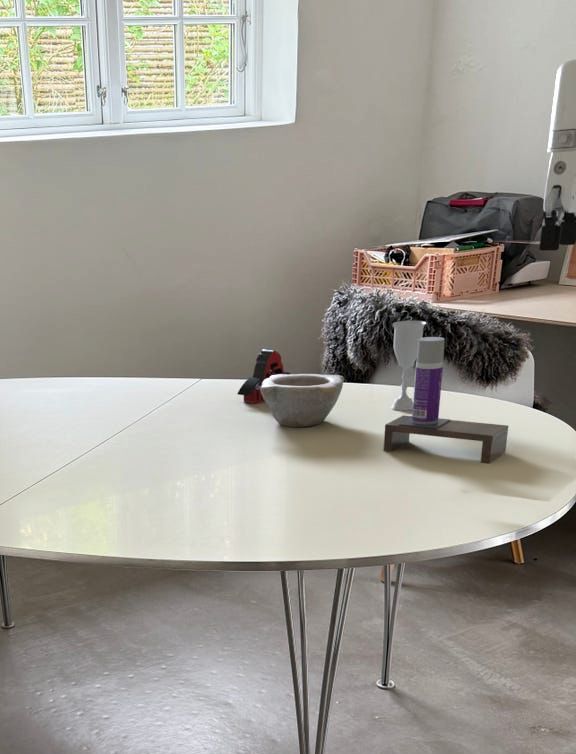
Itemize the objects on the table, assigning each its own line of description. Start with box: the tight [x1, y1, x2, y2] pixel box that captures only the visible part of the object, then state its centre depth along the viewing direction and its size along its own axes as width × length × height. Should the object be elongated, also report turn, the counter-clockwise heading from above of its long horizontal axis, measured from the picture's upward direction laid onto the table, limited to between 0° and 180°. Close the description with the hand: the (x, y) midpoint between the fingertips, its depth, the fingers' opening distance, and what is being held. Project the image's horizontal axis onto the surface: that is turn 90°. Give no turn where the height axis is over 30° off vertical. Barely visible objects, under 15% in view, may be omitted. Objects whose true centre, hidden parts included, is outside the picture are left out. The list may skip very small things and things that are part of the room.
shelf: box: [383, 414, 509, 464], centre depth 176 cm, size 20×8×5 cm, turn 50°
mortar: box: [261, 373, 345, 428], centre depth 203 cm, size 17×17×9 cm
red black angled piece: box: [236, 349, 291, 404], centre depth 226 cm, size 18×4×11 cm, turn 129°
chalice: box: [390, 320, 427, 412], centre depth 206 cm, size 7×7×18 cm
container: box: [411, 336, 446, 425], centre depth 174 cm, size 5×5×15 cm
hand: (557, 247), depth 173 cm, fingers open, 9 cm apart
